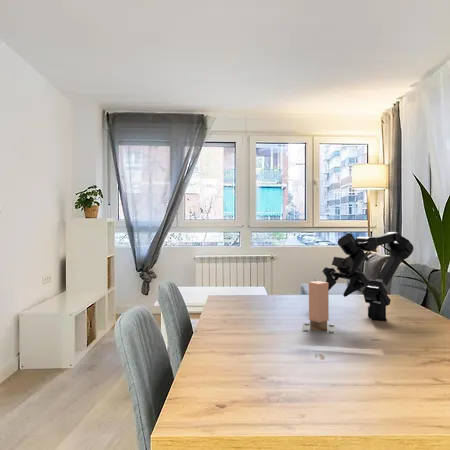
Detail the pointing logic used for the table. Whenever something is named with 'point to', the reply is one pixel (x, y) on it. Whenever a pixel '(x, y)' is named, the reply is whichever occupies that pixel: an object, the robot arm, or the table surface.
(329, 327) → the baseplate
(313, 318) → the tall brick
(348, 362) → the table surface
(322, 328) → the short brick
